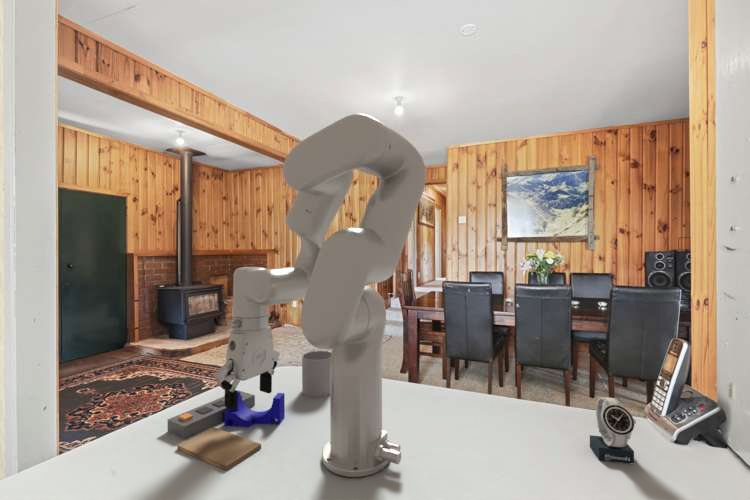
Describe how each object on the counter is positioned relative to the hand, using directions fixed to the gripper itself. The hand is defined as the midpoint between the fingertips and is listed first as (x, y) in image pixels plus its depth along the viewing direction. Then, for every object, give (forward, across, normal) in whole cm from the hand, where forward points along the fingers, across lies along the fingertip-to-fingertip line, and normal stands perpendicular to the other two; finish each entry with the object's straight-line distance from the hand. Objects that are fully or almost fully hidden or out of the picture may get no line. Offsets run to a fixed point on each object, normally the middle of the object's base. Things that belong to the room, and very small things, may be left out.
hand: (249, 399), depth 79 cm
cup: (+5, +21, -3) cm, 22 cm away
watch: (+3, +21, -69) cm, 73 cm away
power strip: (+6, -2, +9) cm, 11 cm away
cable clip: (+6, +1, -1) cm, 6 cm away
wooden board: (+5, -10, -3) cm, 12 cm away
